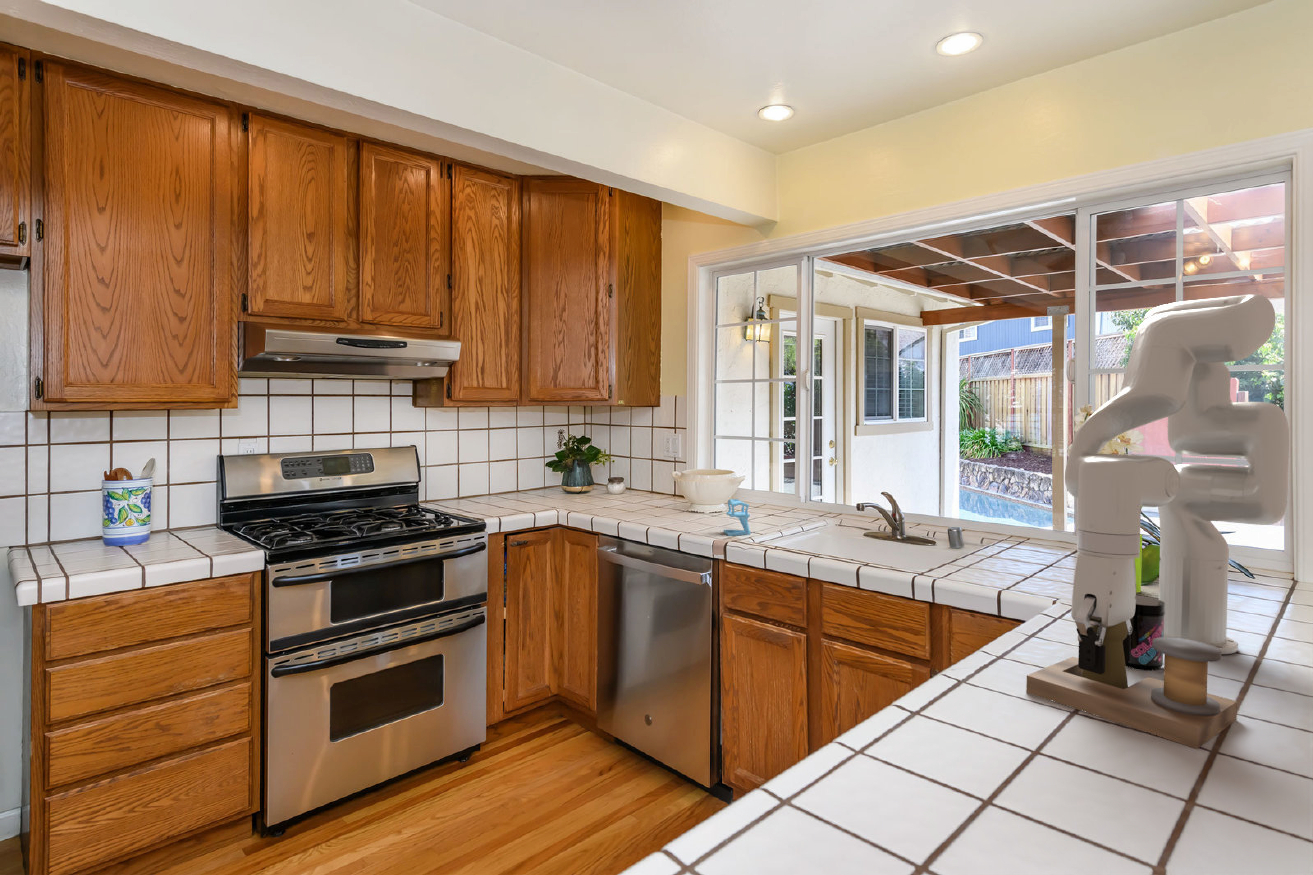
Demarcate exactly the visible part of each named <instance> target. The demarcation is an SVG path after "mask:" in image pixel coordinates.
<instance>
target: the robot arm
mask: <svg viewBox="0 0 1313 875" xmlns="http://www.w3.org/2000/svg"><path fill="white" fill-rule="evenodd" d="M1275 325H1276V312H1275V307H1274V306H1273V304H1272V302H1271V300H1270V299H1268V297H1266V296H1264V295H1263V294H1255V293H1254V294H1252V293H1251V294H1241V295H1233V296H1223V297H1216V298H1215V297H1214V298H1205V299H1204V298H1203V299H1195V300H1194V299H1193V300H1183V301H1177V302H1171V303H1168V304H1167V303H1166V304H1161V305H1159V306H1156V307H1154V308H1152V309H1150V310H1148V312H1147V313H1145V315H1144V318H1143V322H1141V324H1140V325H1138V328H1137V329H1136V333H1135V336H1134V340H1133V343H1132V348H1131V350H1130V355H1129V358H1128V361H1127V365H1126V369H1125V373H1124V377H1123V380H1122V383H1121V384H1122V385H1121V388H1120V391H1119V392H1118V393H1117V395H1116V396H1114V397H1112V398H1111V399H1110V400H1108V401H1106V402H1105V403H1104V404H1102V405H1101V406H1100V407H1099V408H1098V409H1096V410H1095V411H1094V412H1093V413H1092V414H1090V416H1089V417H1088V418H1086V420H1085V421H1084V422H1083V423H1082V424H1081V425H1080V426H1079V428H1078V429H1077V431H1076V433H1075V435H1074V437H1073V439H1072V440H1073V441H1072V443H1071V448H1070V451H1069V454H1068V458H1067V461H1066V465H1065V470H1064V482H1065V487H1066V489H1067V491H1068V493H1069V494H1070V495H1071V496H1072V497H1074V498H1075V499H1077V531H1076V532H1077V535H1076V536H1077V537H1076V538H1077V539H1076V551H1077V552H1078V554H1077V559H1076V562H1075V569H1074V575H1073V583H1072V584H1073V585H1072V586H1073V587H1072V595H1071V597H1072V598H1071V613H1070V614H1071V616H1070V617H1071V618H1072V619H1073V621H1074V623H1075V625H1076V632H1077V641H1078V657H1077V658H1078V666H1079V668H1080V669H1083V670H1087V671H1090V672H1094V673H1097V674H1103V673H1105V647H1106V646H1104V645H1102V643H1103V640H1104V636H1105V632H1106V628H1107V627H1111V626H1114V625H1116V624H1119V623H1121V622H1124V621H1125V623H1126V625H1127V629H1128V634H1131V633H1132V626H1131V621H1132V620H1133V619H1132V617H1133V616H1134V614H1135V607H1136V595H1137V593H1136V570H1135V558H1139V557H1140V534H1141V520H1142V519H1141V514H1142V508H1145V507H1146V508H1157V510H1158V516H1159V532H1160V534H1159V535H1160V536H1159V540H1160V542H1159V570H1158V572H1159V574H1158V575H1159V577H1158V600H1160V601H1163V602H1164V603H1165V614H1164V637H1171V638H1181V639H1188V640H1193V641H1198V642H1202V643H1205V644H1209V645H1212V646H1214V647H1216V648H1218V649H1220V650H1221V652H1222V655H1230V654H1234V653H1237V652H1239V645H1238V642H1237V641H1235V640H1234V639H1233V638H1229V637H1227V629H1228V628H1227V624H1228V622H1227V621H1228V598H1229V597H1228V594H1229V593H1228V590H1229V589H1228V588H1229V564H1230V561H1229V559H1230V558H1229V556H1230V549H1229V545H1228V543H1227V541H1226V539H1225V537H1224V536H1223V534H1222V533H1221V532H1220V531H1219V530H1218V529H1217V527H1216V526H1215V525H1214V524H1213V523H1212V522H1226V523H1233V524H1234V523H1236V524H1244V525H1245V524H1247V525H1258V526H1270V525H1274V524H1277V523H1279V522H1280V521H1282V519H1283V518H1284V516H1285V514H1286V510H1287V506H1288V505H1287V504H1288V492H1289V491H1288V490H1289V489H1288V485H1289V457H1290V456H1289V454H1290V451H1289V450H1290V429H1289V428H1290V427H1289V422H1288V418H1287V416H1286V413H1285V411H1284V410H1283V409H1282V408H1281V407H1280V406H1279V405H1276V404H1275V403H1271V402H1267V401H1232V398H1231V379H1232V378H1231V372H1230V370H1229V368H1228V366H1227V365H1226V363H1232V362H1237V361H1238V362H1239V361H1242V360H1244V359H1246V358H1248V357H1250V356H1252V354H1254V353H1255V352H1256V351H1258V350H1259V349H1260V348H1261V347H1263V346H1264V345H1265V344H1266V343H1267V342H1268V341H1269V340H1270V338H1271V336H1272V334H1273V331H1274V329H1275ZM1165 418H1167V440H1168V445H1169V448H1170V449H1171V450H1172V451H1174V453H1177V454H1178V455H1184V456H1190V457H1191V456H1192V457H1204V458H1224V459H1225V458H1226V459H1230V458H1231V459H1243V460H1245V461H1246V462H1248V464H1249V466H1234V465H1232V466H1231V465H1221V464H1203V463H1202V464H1201V463H1182V464H1173V463H1172V462H1171V461H1170V460H1167V459H1165V458H1164V457H1159V456H1153V455H1135V454H1134V455H1133V454H1132V455H1131V454H1118V453H1117V454H1115V453H1101V452H1102V450H1103V449H1104V448H1105V446H1106V445H1107V444H1109V442H1110V441H1111V440H1113V439H1115V438H1116V437H1118V436H1119V435H1122V434H1123V433H1126V432H1128V431H1130V430H1134V429H1136V428H1140V427H1142V426H1145V425H1148V424H1151V423H1154V422H1157V421H1160V420H1162V419H1165ZM1141 506H1142V508H1141ZM1090 618H1093V619H1097V620H1102V621H1101V622H1096V621H1092V620H1090ZM1090 627H1095V628H1098V631H1097V635H1096V633H1095V631H1094V629H1093V628H1090ZM1122 642H1123V650H1124V657H1125V662H1129V661H1130V658H1131V635H1127V636H1126V638H1125V639H1124V640H1123V641H1122Z"/></svg>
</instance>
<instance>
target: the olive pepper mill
mask: <svg viewBox="0 0 1313 875" xmlns="http://www.w3.org/2000/svg"><path fill="white" fill-rule="evenodd" d="M1090 620H1092V621H1096V622H1101V621H1102V620H1097V619H1093V618H1090ZM1090 628H1093V629H1094V631H1095V633H1096V635H1097V631H1098V628H1095V627H1090ZM1127 634H1128V629H1127V625H1126V623H1125V621H1124V622H1121V623H1119V624H1116V625H1114V626H1111V627H1107V628H1106V632H1105V636H1104V640H1103V643H1102V645H1104V646H1106V647H1105V673H1103V674H1097V673H1094V672H1090V671H1087V670H1082V676H1081V677H1083V678H1087V679H1090V680H1094V681H1097V682H1100V683H1104V684H1107V685H1111V686H1114V687H1118V688H1121V689H1126V688H1128V687H1129V684H1128V675H1127V667H1126V665H1125V657H1124V650H1123V642H1122V641H1123V640H1124V639H1125V638H1126V636H1127Z"/></svg>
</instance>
